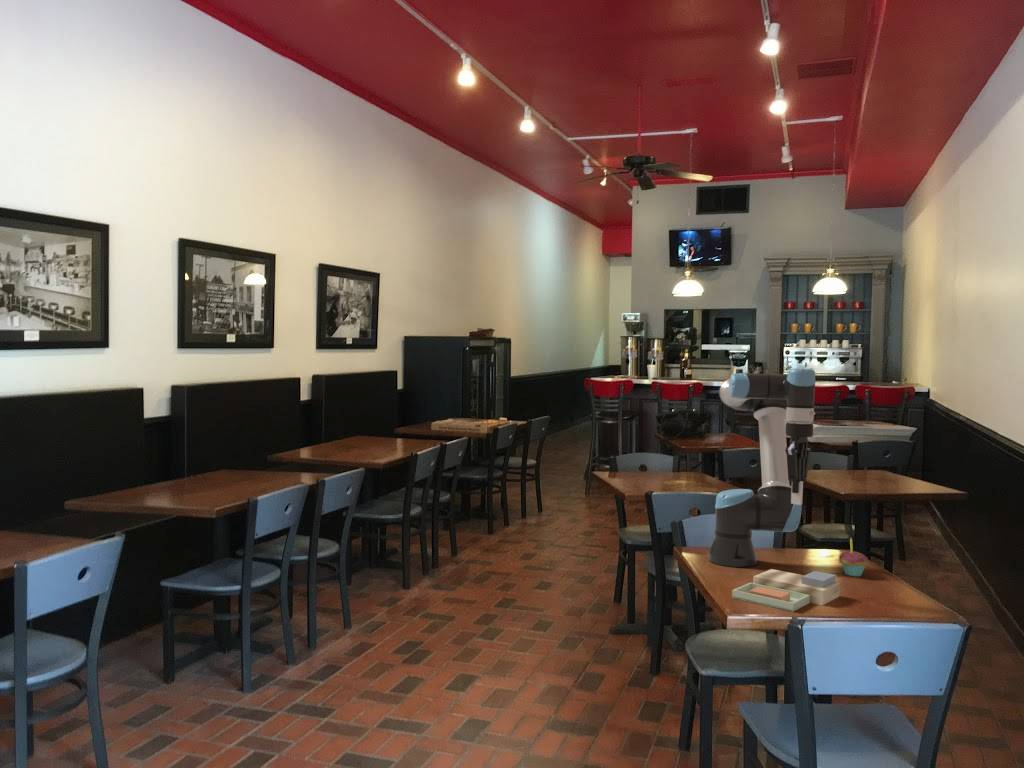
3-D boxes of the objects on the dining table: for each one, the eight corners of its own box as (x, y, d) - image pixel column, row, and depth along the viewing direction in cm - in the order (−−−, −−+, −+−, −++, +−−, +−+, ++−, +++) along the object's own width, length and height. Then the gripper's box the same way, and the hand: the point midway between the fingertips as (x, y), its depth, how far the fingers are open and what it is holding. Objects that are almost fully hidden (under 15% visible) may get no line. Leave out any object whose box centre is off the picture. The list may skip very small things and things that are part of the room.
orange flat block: (758, 586, 230) (758, 593, 230) (749, 590, 226) (749, 597, 226) (790, 592, 224) (790, 600, 224) (781, 597, 220) (780, 604, 220)
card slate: (823, 588, 224) (823, 580, 224) (801, 583, 228) (801, 576, 228) (835, 582, 231) (835, 574, 231) (814, 577, 235) (814, 570, 235)
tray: (732, 598, 227) (732, 590, 227) (750, 590, 235) (750, 582, 235) (792, 611, 216) (793, 603, 216) (809, 603, 224) (809, 595, 224)
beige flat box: (752, 590, 235) (753, 576, 235) (771, 582, 244) (771, 568, 244) (822, 605, 222) (823, 590, 222) (839, 596, 231) (839, 582, 231)
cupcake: (859, 579, 250) (860, 540, 250) (832, 573, 256) (834, 535, 256) (873, 575, 255) (874, 536, 255) (847, 569, 262) (848, 531, 262)
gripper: (803, 424, 229) (799, 508, 230) (821, 422, 239) (818, 502, 240) (777, 422, 234) (774, 504, 236) (796, 420, 244) (793, 499, 245)
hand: (796, 503), depth 238 cm, fingers closed
